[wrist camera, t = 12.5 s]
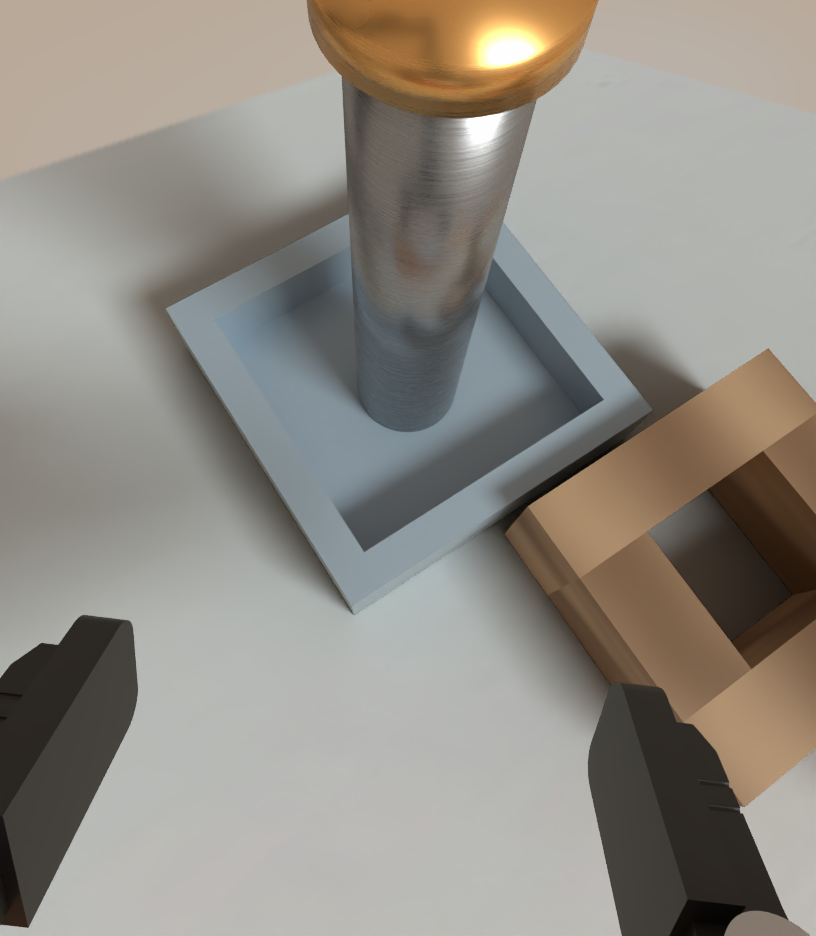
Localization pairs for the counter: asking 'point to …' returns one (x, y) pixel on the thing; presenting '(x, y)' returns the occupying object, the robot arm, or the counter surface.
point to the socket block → (666, 593)
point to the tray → (392, 452)
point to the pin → (433, 172)
